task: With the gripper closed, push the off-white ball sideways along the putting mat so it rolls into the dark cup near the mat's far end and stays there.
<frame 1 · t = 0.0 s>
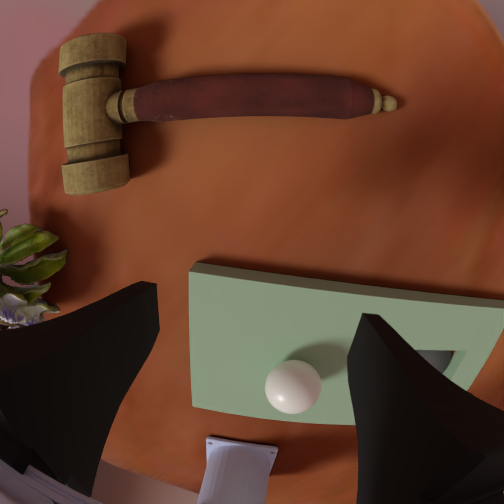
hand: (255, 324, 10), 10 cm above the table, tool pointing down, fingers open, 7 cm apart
passion flower: (33, 262, 24), on the table
ball: (293, 387, 20), point 3 cm above the table, touching putting mat
gavel: (223, 99, 17), on the table
putting mat: (353, 361, 23), on the table
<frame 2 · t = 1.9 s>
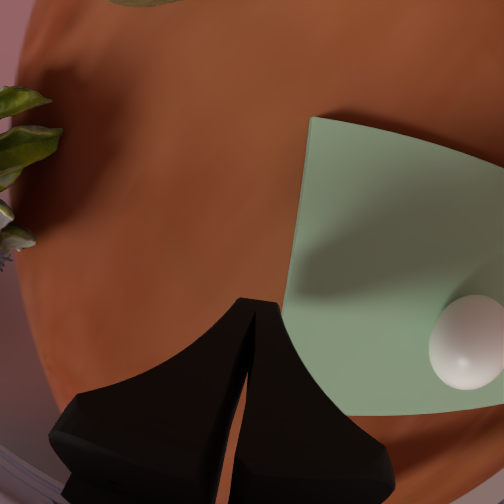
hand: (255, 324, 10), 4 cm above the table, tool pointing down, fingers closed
passion flower: (7, 173, 13), on the table
ball: (471, 342, 10), point 3 cm above the table, touching putting mat
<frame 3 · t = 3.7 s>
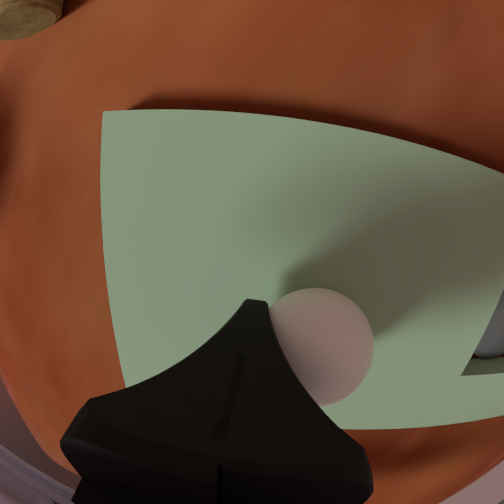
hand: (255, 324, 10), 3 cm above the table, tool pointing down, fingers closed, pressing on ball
ball: (313, 348, 10), point 3 cm above the table, tilted 15°, touching gripper, putting mat
putting mat: (403, 309, 12), on the table
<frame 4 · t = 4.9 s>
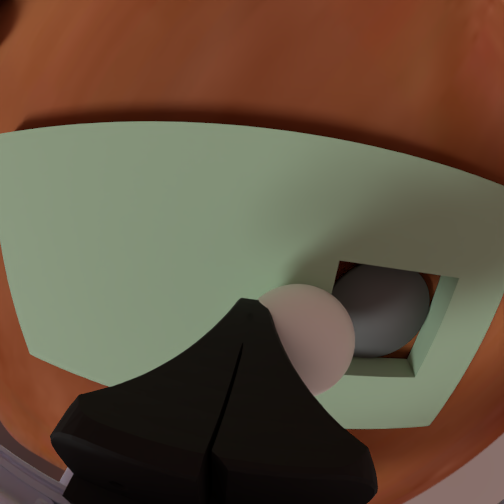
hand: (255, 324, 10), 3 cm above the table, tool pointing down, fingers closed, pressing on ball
ball: (296, 342, 10), point 3 cm above the table, tilted 124°, touching gripper, putting mat
putting mat: (226, 290, 14), on the table
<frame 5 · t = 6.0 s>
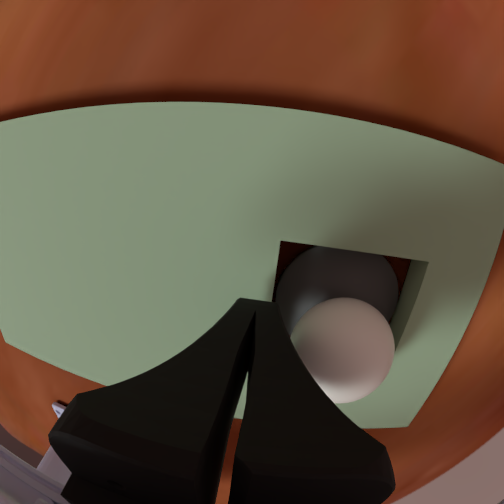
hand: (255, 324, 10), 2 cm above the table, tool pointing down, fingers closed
ball: (341, 350, 11), point 2 cm above the table, tilted 74°, touching putting mat
putting mat: (173, 275, 13), on the table
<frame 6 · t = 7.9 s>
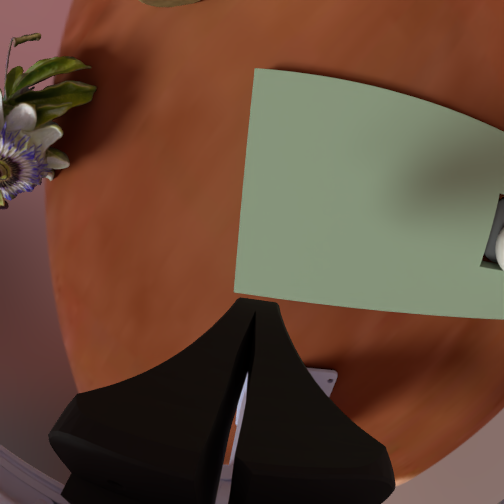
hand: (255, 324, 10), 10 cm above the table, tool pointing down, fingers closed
passion flower: (46, 123, 19), on the table
putting mat: (436, 213, 18), on the table
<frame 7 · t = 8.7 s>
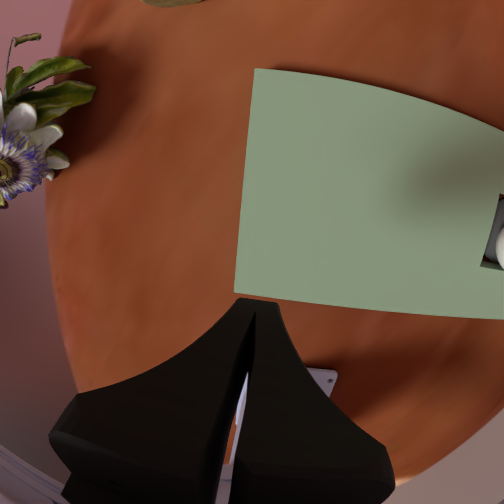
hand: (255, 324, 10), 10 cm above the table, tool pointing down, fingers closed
passion flower: (46, 123, 19), on the table
putting mat: (436, 213, 18), on the table
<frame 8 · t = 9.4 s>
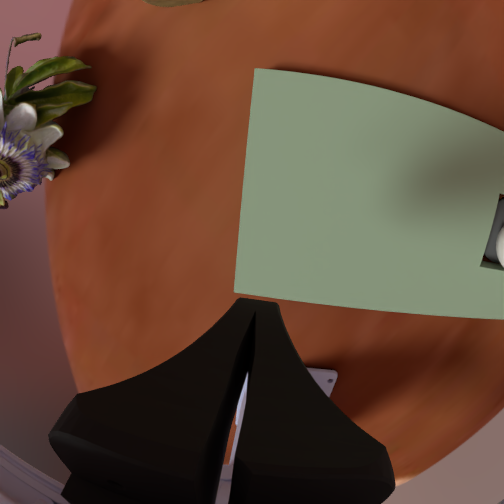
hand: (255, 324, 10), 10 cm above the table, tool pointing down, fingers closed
passion flower: (46, 123, 19), on the table
putting mat: (436, 213, 18), on the table
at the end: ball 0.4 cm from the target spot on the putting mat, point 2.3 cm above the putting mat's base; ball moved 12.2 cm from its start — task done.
